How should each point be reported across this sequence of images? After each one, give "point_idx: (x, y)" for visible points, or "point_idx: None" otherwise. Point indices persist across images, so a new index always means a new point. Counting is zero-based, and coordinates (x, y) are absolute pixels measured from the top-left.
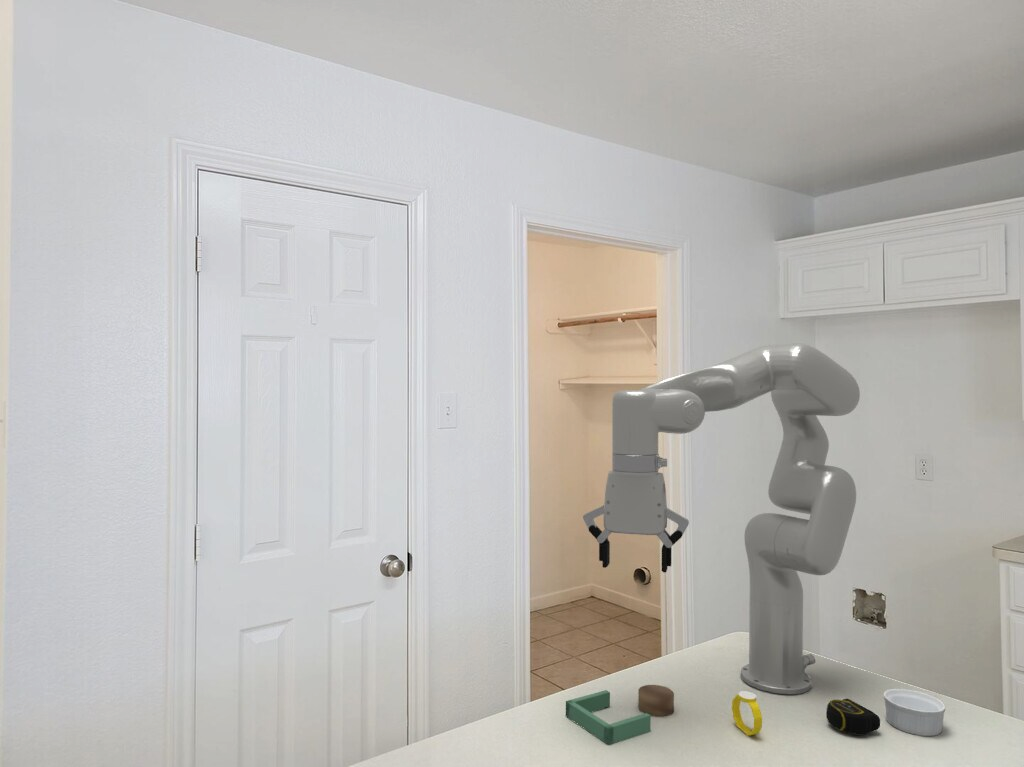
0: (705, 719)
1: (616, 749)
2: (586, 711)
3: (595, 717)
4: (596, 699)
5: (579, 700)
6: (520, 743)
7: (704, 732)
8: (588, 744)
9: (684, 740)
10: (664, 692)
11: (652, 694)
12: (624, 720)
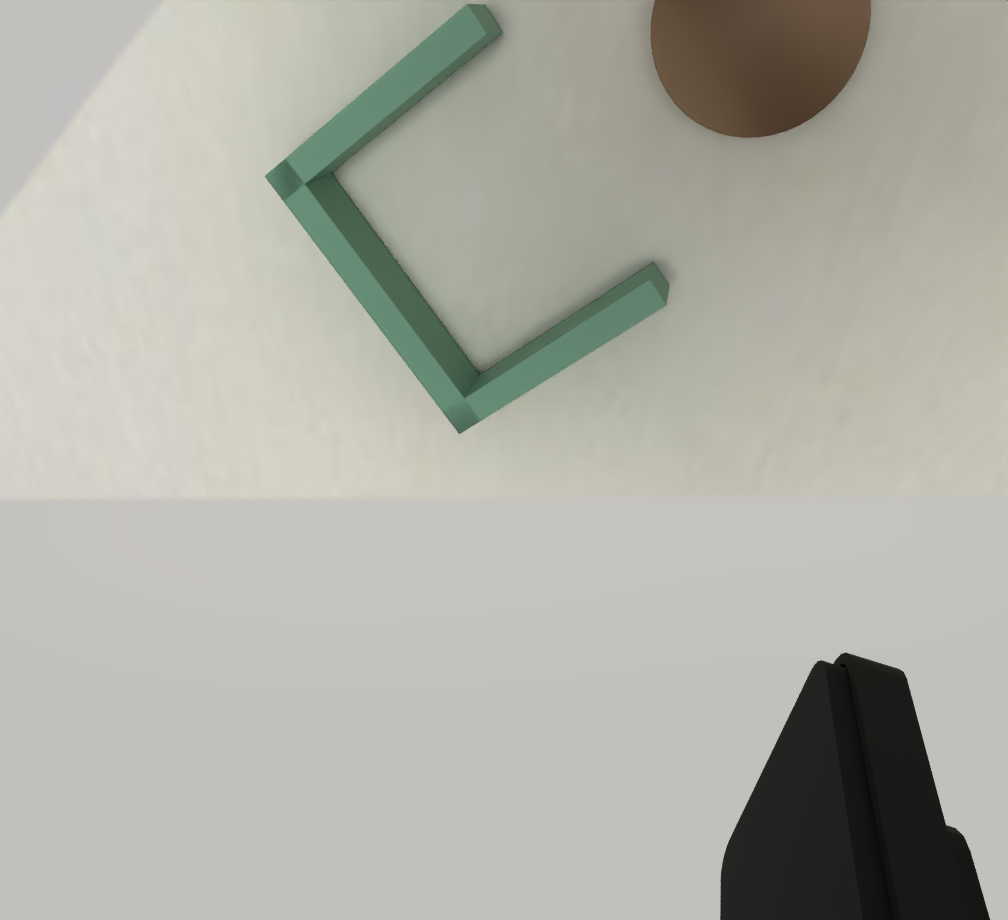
0: (1000, 136)
1: (504, 437)
2: (365, 284)
3: (406, 339)
4: (417, 94)
5: (328, 161)
6: (158, 404)
7: (934, 281)
8: (399, 404)
9: (807, 359)
10: (809, 28)
11: (726, 68)
12: (533, 363)
